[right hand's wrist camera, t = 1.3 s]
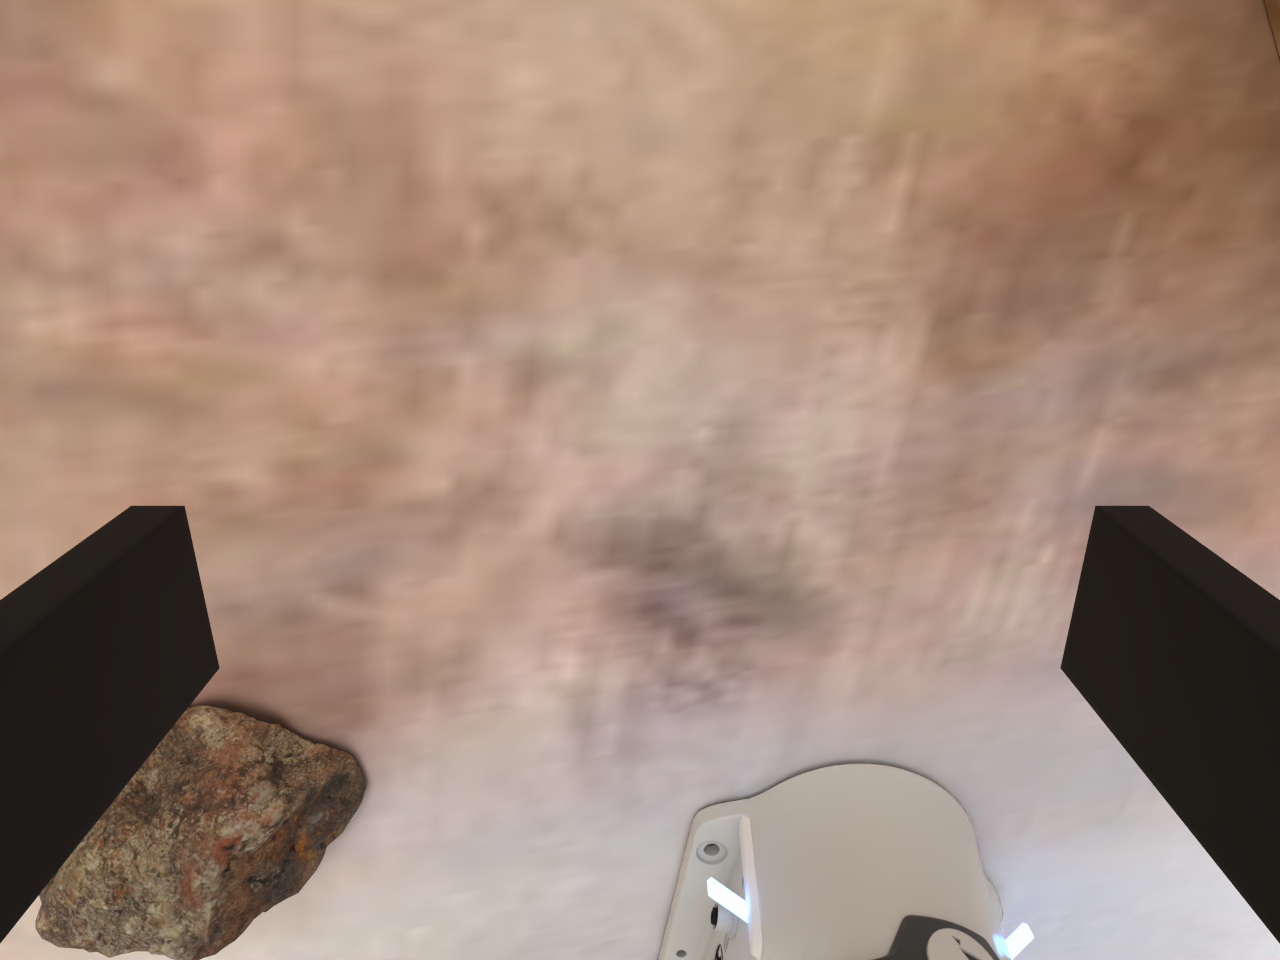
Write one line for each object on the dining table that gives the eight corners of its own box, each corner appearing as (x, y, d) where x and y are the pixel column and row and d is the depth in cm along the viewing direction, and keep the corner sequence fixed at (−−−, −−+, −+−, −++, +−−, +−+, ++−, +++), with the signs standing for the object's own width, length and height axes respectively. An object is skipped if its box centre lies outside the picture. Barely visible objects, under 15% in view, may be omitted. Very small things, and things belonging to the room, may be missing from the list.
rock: (345, 862, 50) (382, 728, 46) (302, 1003, 42) (344, 855, 38) (77, 813, 47) (96, 666, 43) (-23, 955, 39) (-10, 790, 35)
